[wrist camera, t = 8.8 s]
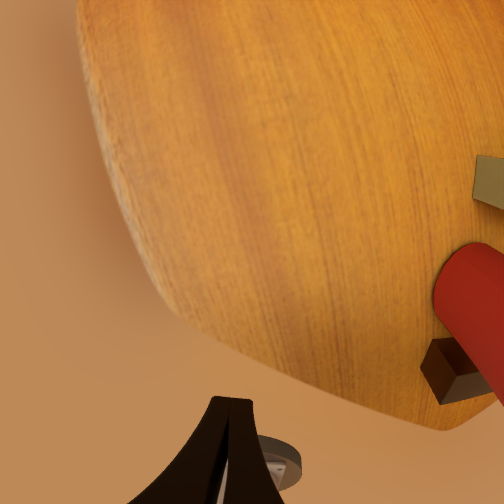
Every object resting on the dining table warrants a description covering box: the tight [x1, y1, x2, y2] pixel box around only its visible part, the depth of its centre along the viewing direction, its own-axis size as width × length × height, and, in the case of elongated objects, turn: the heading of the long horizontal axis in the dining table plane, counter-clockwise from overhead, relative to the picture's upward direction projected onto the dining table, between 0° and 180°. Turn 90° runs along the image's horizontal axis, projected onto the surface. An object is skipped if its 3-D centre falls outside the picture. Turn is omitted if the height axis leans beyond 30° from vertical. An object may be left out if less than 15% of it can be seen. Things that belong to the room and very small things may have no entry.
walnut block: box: [420, 338, 493, 405], centre depth 17 cm, size 3×8×4 cm, turn 87°
